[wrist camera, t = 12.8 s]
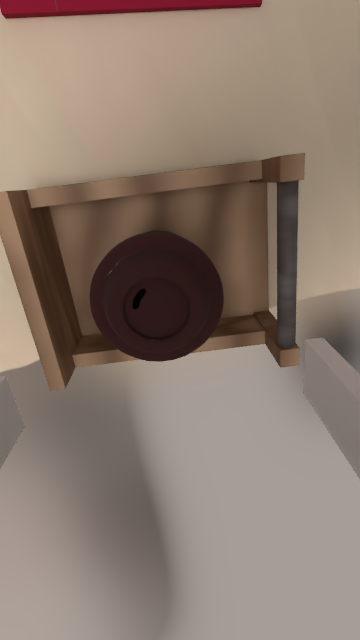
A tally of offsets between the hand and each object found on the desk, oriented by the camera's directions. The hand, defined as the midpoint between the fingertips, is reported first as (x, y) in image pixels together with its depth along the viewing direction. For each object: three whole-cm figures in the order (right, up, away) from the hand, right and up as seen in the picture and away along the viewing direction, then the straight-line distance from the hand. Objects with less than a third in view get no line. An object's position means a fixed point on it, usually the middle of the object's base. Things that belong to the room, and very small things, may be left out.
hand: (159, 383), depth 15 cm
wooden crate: (-1, +10, +23) cm, 25 cm away
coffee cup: (-1, +9, +22) cm, 24 cm away
